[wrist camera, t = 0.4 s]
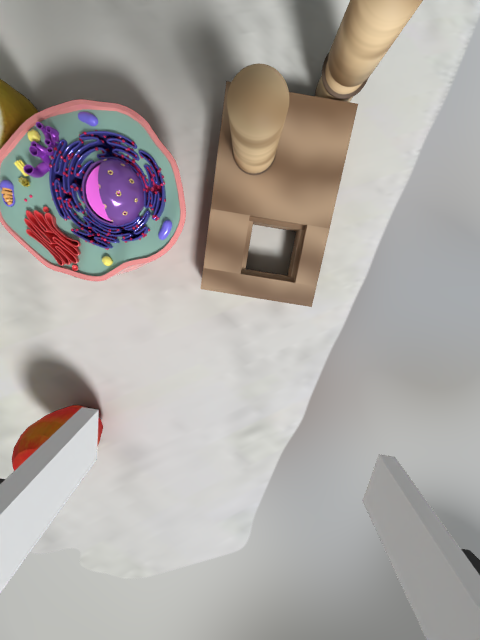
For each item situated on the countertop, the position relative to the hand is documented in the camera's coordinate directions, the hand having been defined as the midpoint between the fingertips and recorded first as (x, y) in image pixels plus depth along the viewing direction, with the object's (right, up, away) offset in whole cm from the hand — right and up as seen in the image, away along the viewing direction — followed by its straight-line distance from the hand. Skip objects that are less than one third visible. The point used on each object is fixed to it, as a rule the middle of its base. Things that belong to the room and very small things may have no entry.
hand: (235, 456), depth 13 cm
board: (+4, +21, +22) cm, 30 cm away
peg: (+11, +33, +19) cm, 39 cm away
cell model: (-15, +21, +23) cm, 34 cm away
